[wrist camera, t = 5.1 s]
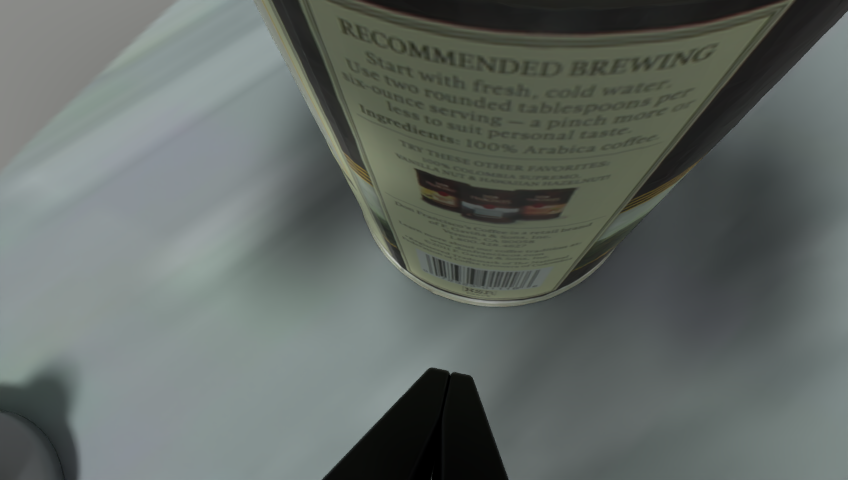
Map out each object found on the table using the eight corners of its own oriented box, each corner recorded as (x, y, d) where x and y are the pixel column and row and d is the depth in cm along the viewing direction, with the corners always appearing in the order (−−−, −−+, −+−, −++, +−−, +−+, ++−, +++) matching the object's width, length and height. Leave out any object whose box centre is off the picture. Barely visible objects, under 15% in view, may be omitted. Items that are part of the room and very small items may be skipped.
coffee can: (569, 30, 20) (788, -710, 7) (682, 258, 17) (1560, -303, 3) (329, 100, 20) (61, -525, 6) (396, 346, 16) (127, 112, 3)
